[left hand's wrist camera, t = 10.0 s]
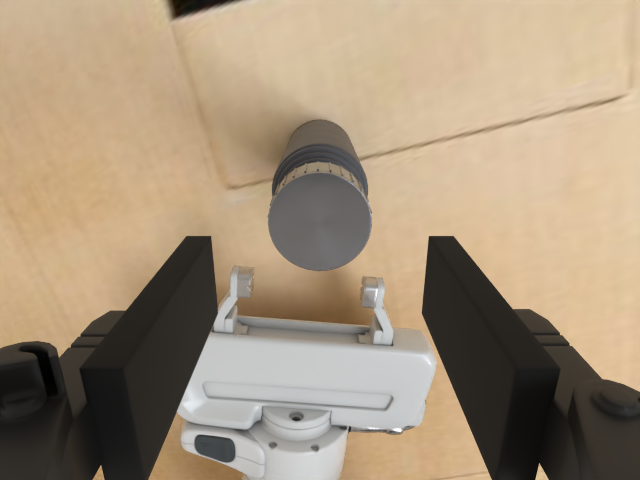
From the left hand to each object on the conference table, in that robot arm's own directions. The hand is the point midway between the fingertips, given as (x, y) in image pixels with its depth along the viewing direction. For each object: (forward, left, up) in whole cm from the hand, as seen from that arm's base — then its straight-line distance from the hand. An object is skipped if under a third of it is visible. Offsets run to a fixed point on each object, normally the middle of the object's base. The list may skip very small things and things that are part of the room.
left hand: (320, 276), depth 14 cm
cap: (0, 0, -6) cm, 6 cm away
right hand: (+7, +2, -16) cm, 18 cm away
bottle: (0, 0, -23) cm, 23 cm away
